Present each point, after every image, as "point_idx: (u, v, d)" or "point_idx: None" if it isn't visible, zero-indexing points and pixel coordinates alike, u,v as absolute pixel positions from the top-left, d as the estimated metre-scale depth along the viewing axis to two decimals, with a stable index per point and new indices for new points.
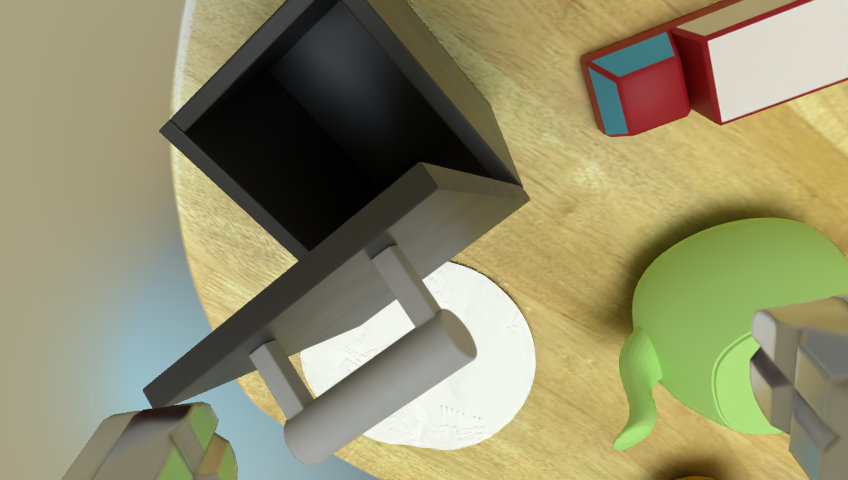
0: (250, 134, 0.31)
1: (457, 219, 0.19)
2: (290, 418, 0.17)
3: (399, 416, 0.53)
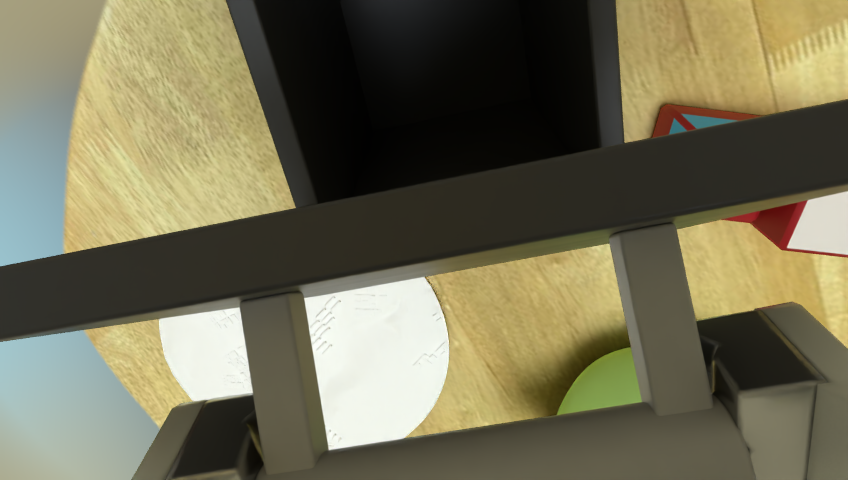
0: None
1: None
2: (273, 473, 0.08)
3: None
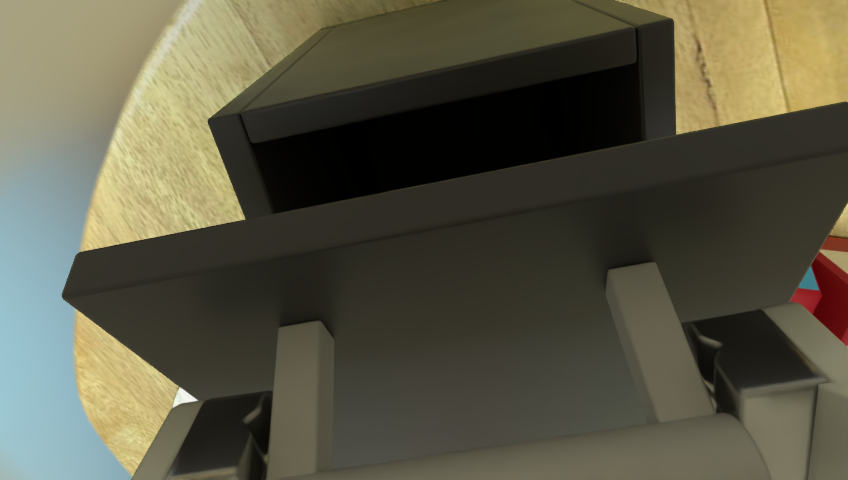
0: (314, 154, 0.19)
1: None
2: (274, 477, 0.07)
3: None
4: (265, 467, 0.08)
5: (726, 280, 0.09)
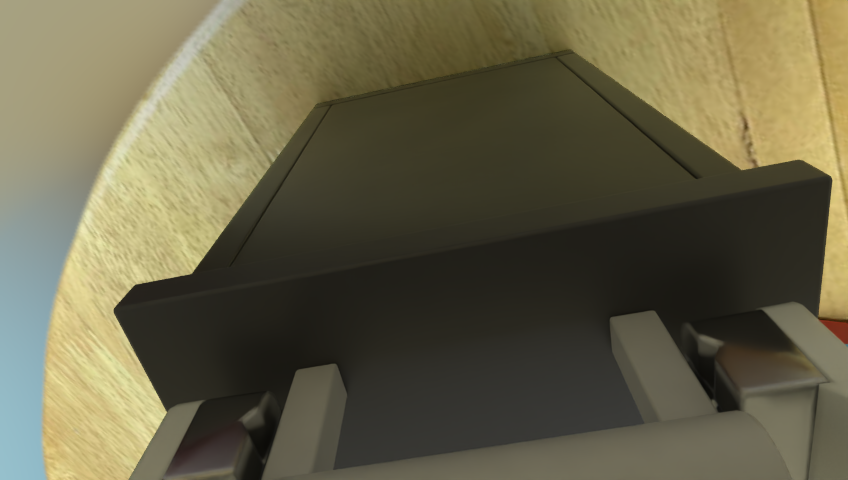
0: None
1: None
2: None
3: None
4: (263, 467, 0.08)
5: None
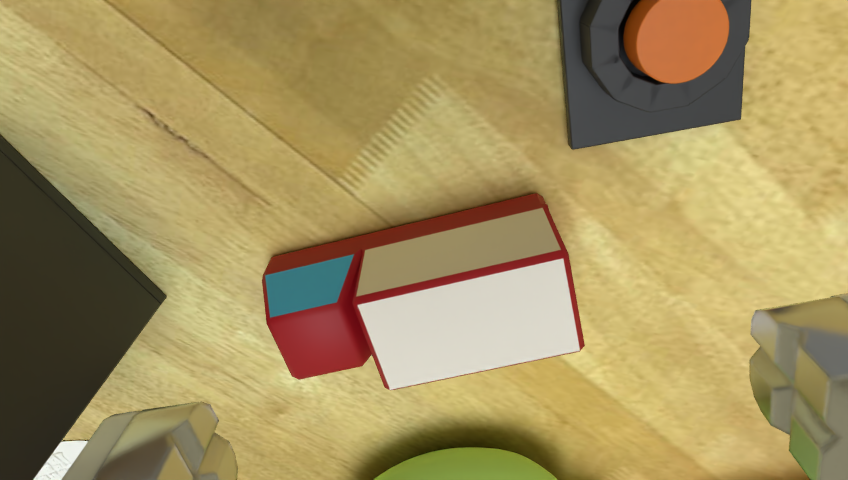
0: None
1: None
2: None
3: None
4: (191, 479, 0.08)
5: None
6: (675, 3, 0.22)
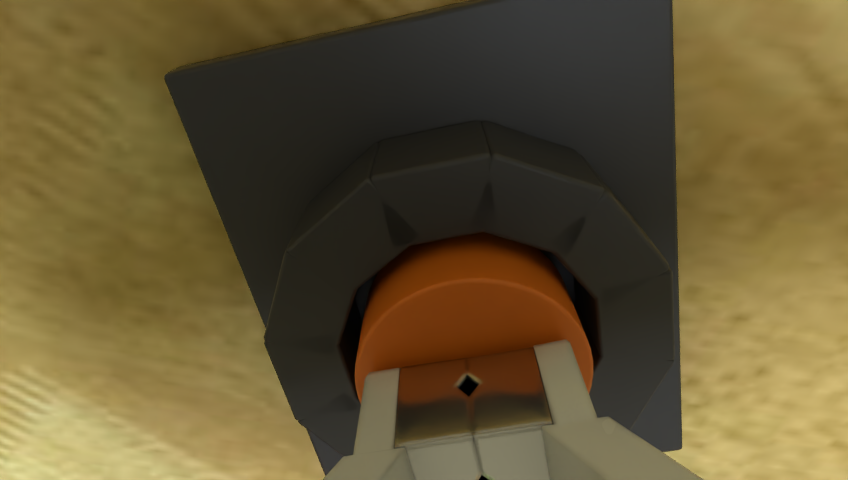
0: None
1: None
2: None
3: None
4: None
5: None
6: (438, 313, 0.08)
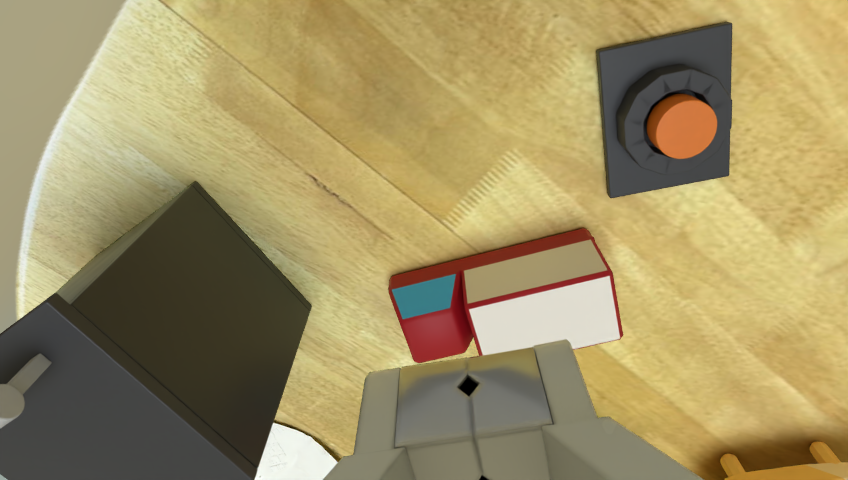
0: None
1: (117, 392, 0.28)
2: None
3: None
4: None
5: (73, 354, 0.27)
6: (681, 109, 0.34)
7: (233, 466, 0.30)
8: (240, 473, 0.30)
